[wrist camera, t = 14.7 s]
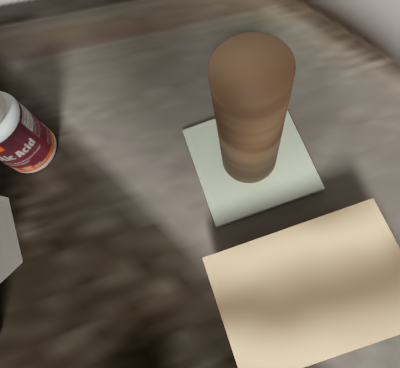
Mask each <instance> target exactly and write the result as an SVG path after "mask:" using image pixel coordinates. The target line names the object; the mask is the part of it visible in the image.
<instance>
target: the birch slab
mask: <svg viewBox="0 0 400 368" xmlns="http://www.w3.org/2000/svg"><path fill="white" fill-rule="evenodd" d="M202 259H203V262H204V265H205V268H206V271H207V274H208V277H209V280H210V283H211V286H212V289H213V293H214V296H215V299H216V302H217V305H218V308H219V311H220V314H221V317H222V320H223V323H224V326H225V330H226V333H227V336H228V339H229V342H230V345H231V348H232V351H233V354H234V357H235V360H236V363H237V367H238V368H304V367H307V366H309V365H312V364H315V363H318V362H321V361H324V360H327V359H330V358H333V357H336V356H339V355H341V354H344V353H347V352H350V351H353V350H356V349H359V348H362V347H365V346H368V345H370V344H373V343H376V342H379V341H382V340H385V339H388V338H391V337H394V336H397V335H400V248H399V246H398V244H397V242H396V240H395V238H394V236H393V235H392V233H391V231H390V229H389V227H388V225H387V223H386V221H385V219H384V217H383V216H382V214H381V212H380V210H379V208H378V206H377V204H376V202H375V200H374V198H372V199H369V200H366V201H363V202H360V203H358V204H355V205H352V206H349V207H346V208H343V209H340V210H338V211H335V212H332V213H329V214H326V215H323V216H320V217H318V218H315V219H312V220H309V221H306V222H303V223H300V224H298V225H295V226H292V227H289V228H286V229H283V230H281V231H278V232H275V233H272V234H269V235H266V236H263V237H261V238H258V239H255V240H252V241H249V242H246V243H243V244H241V245H238V246H235V247H232V248H229V249H226V250H223V251H221V252H218V253H215V254H212V255H209V256H206V257H203V258H202Z"/></svg>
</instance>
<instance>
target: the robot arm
mask: <svg viewBox="0 0 400 368" xmlns="http://www.w3.org/2000/svg"><path fill="white" fill-rule="evenodd" d="M22 262H23V261H22V256H21V252H20V247H19V243H18V238H17V234H16V229H15V225H14V220H13V216H12V211H11V207H10V202H9V198H8V197H4V196H0V283H1V282H2V281H3V280H4V279H6V278H7V277H8V276H9V275H10V274H11V273H12V272H13V271H14V270H15V269H16V268H17V267H18V266H19V265H20V264H21V263H22Z"/></svg>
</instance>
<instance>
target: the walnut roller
mask: <svg viewBox="0 0 400 368" xmlns="http://www.w3.org/2000/svg"><path fill="white" fill-rule="evenodd" d="M295 70H296V65H295V59H294V56H293V53H292V52H291V50H290V48H289V47H288V46H287V45H286V44H285V43H284V42H283V41H282V40H280V39H279V38H277V37H275V36H273V35H270V34H267V33H263V32H245V33H240V34H237V35H234V36H232V37H230V38H228V39H226V40H225V41H223V42H222V43H221V44H220V45H219V46H218V47H217V48H216V49H215V50H214V52H213V53H212V55H211V57H210V60H209V64H208V77H209V83H210V89H211V95H212V101H213V107H214V113H215V119H216V125H217V131H218V137H219V143H220V149H221V155H222V162H223V166H224V168H225V170H226V172H227V173H228V174H229V175H230V176H231V177H232V178H233V179H235V180H237V181H239V182H243V183H255V182H259V181H261V180H263V179H265V178H266V177H268V176H269V175H270V174H271V172H272V171H273V169H274V167H275V164H276V159H277V155H278V150H279V146H280V141H281V136H282V132H283V127H284V122H285V118H286V113H287V108H288V104H289V99H290V94H291V90H292V85H293V80H294V76H295Z"/></svg>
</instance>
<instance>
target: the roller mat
mask: <svg viewBox="0 0 400 368" xmlns="http://www.w3.org/2000/svg"><path fill="white" fill-rule="evenodd" d="M182 131H183V134H184V137H185V140H186V142H187V145H188V148H189V151H190V154H191V157H192V160H193V162H194V165H195V168H196V171H197V174H198V177H199V180H200V183H201V185H202V188H203V191H204V194H205V197H206V200H207V203H208V205H209V208H210V211H211V214H212V217H213V220H214V223H215V226H216V228H217V227H220V226H223V225H226V224H228V223H231V222H234V221H237V220H240V219H243V218H245V217H248V216H251V215H254V214H257V213H260V212H263V211H265V210H268V209H271V208H274V207H277V206H280V205H282V204H285V203H288V202H291V201H294V200H297V199H300V198H302V197H305V196H308V195H311V194H314V193H317V192H319V191H322V190H324V189H325V187H324V185H323V183H322V181H321V179H320V177H319V175H318V173H317V171H316V169H315V166H314V164H313V162H312V160H311V158H310V156H309V154H308V152H307V150H306V148H305V146H304V144H303V141H302V139H301V137H300V135H299V133H298V131H297V129H296V127H295V125H294V123H293V121H292V119H291V116H290V114H289V112H288V110H287V113H286V118H285V122H284V127H283V132H282V136H281V141H280V146H279V150H278V155H277V159H276V164H275V167H274V169H273V171H272V172H271V174H270V175H269V176H268V177H266V178H265V179H263V180H261V181H259V182H255V183H243V182H239V181H237V180H235V179H233V178H232V177H231V176H230V175H229V174H228V173H227V172H226V170H225V168H224V166H223V162H222V155H221V149H220V143H219V137H218V131H217V125H216V119H212V120H210V121H207V122H204V123H201V124H198V125H195V126H193V127H190V128H187V129H184V130H182Z"/></svg>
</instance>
